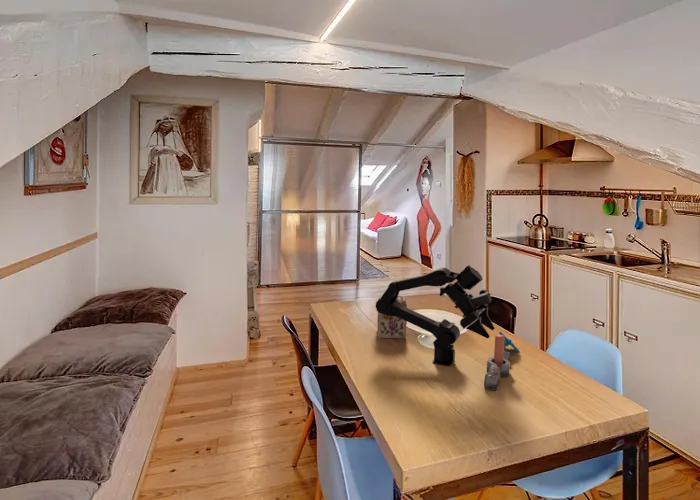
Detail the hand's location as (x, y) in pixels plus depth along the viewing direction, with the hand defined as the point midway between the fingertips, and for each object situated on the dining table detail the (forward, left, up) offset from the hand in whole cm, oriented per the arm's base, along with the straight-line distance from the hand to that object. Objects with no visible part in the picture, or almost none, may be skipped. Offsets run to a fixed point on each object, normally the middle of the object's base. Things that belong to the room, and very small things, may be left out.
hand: (491, 333), depth 145 cm
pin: (+3, 0, -13) cm, 14 cm away
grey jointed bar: (+3, 0, -13) cm, 14 cm away
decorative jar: (-44, +18, -14) cm, 50 cm away
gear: (+3, +23, -14) cm, 27 cm away
